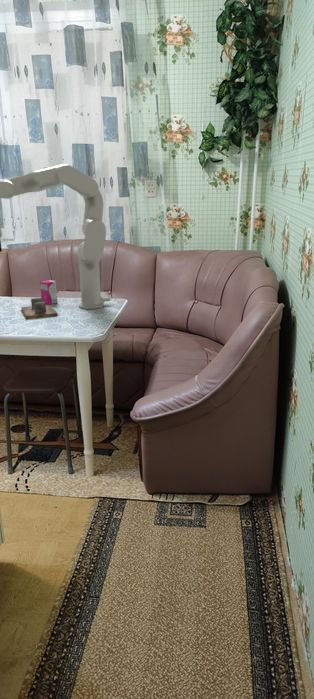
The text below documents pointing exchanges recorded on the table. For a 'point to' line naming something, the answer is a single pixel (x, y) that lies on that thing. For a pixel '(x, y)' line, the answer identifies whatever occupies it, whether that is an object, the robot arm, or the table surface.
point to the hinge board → (38, 309)
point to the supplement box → (48, 292)
